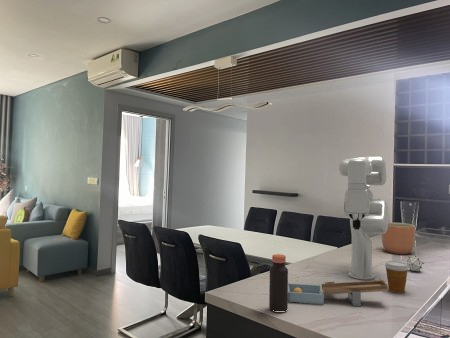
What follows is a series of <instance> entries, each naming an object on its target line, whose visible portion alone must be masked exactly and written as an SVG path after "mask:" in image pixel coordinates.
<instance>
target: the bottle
mask: <svg viewBox="0 0 450 338" xmlns="http://www.w3.org/2000/svg"><path fill="white" fill-rule="evenodd" d="M271 258H272V261H271V262H272V266H271V267H269V285H268V286H269V297H268V300H269V301H268V307H269V308H270V309H271V310H274V311H286V310H287V309H288V306H289V303H288V283H289V270H288V268H287V266H285V265H286V261H287V259H286V255H284V254H279V253H277V254H273V255H272V257H271ZM270 309H269V310H270ZM271 310H270V311H271ZM288 310H289V309H288ZM288 310H287V311H288ZM287 311H286V312H287Z"/></svg>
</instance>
